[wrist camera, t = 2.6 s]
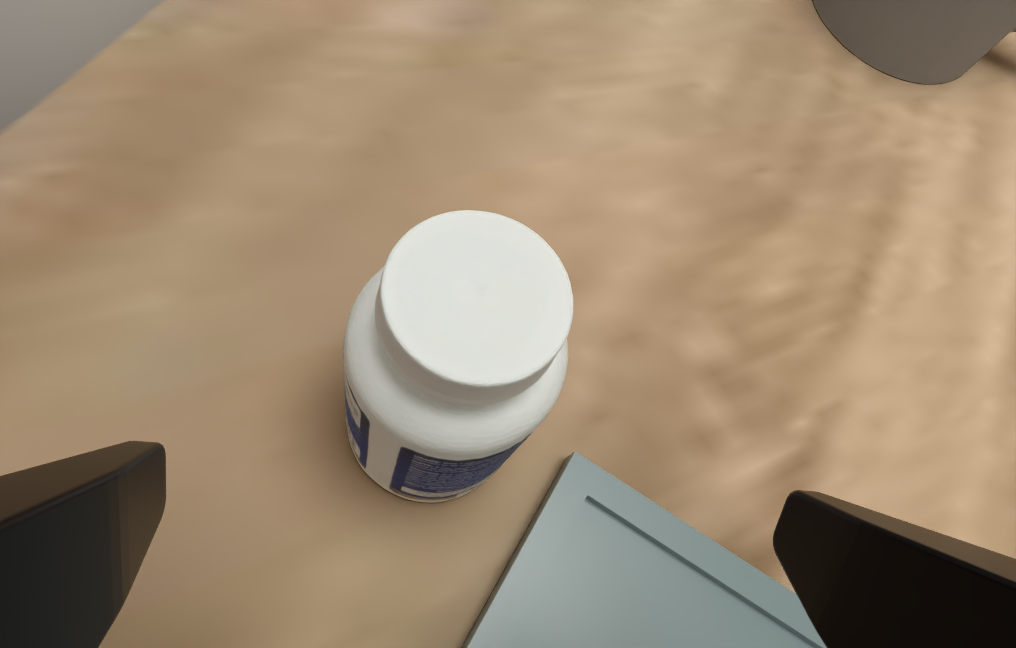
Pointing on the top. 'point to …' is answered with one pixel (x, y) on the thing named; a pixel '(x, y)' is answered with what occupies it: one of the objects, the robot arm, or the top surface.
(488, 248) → the pill bottle
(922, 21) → the coffee mug
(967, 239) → the top surface
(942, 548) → the robot arm
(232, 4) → the top surface
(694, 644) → the tray
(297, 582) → the top surface
